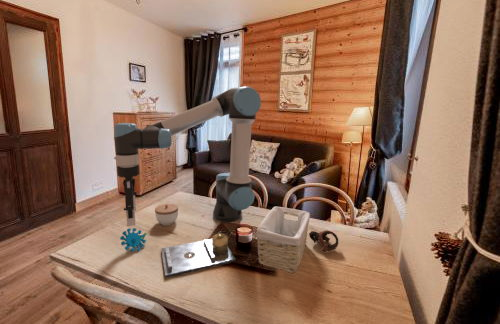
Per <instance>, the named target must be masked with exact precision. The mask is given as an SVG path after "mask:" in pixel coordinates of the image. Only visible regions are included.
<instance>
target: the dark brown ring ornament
mask: <svg viewBox="0 0 500 324" xmlns="http://www.w3.org/2000/svg"><path fill="white" fill-rule="evenodd" d="M328 235H332V237H334V238H335V243H333V244H330V243H329V241H330V240H331V238H330V237H328ZM308 236H309V238H310V239H311V240H312V242H313V243H314V244H316V243H318V242H319V243H320V245H321V246H322V248H321V252H322V253H327V252H332V251H335V250H337V248H338V246H339V237H338V236H337V234H336V233H334V231H331V230H327V229H326V230H323V231H319V232H317V231H315V230H311V231H309V233H308ZM326 242H327V245H326Z"/></svg>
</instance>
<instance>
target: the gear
mask: <svg viewBox="0 0 500 324" xmlns="http://www.w3.org/2000/svg"><path fill="white" fill-rule="evenodd" d="M137 230H138V229H137V228H135V227H133V228H132V229H131V228H129V227H128V228H127V229H126V230H124V231H123V232H122V236H120V238H119V240H121V243H120V244H121V246H125V245H126V246H125V247H124V249H125V251H127V250H128V249H129V248H131V247H132V248H131V249H130V250H129V251H130V252H131V253H134V252H135V251H136V252H140V251H141V249H143V248H144V247H145V244H146V243H147V240H146V239H144V238H145V237H146V236H147V232H144V233H142V231H141V229H139V230H138V231H137ZM131 231H132V232H131ZM136 231H137V232H136ZM135 248H136V249H135Z"/></svg>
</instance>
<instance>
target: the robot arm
mask: <svg viewBox="0 0 500 324" xmlns="http://www.w3.org/2000/svg"><path fill="white" fill-rule="evenodd" d="M261 99H262V98H261V96H260V94H259V92H258V91H257V90H256V89H255V88H253V87H251V86H245V85H244V86H238V87H232V88H230V89H227V90H225V91H224V92H222V93H220V94H217V95H215V96H213V97H212V99H211V100H208V101H207V102H205V103H204V102H203V103H202V104H200V105H198V106H195V107H192V108H190V109H188V110H185V111H183V112H180V113H178V114H175V115H173V116H171V117H168V118H165V119H163V120H161V121H159V122H156V123H154V124H149V125H146V126H145V127H144V128H138V126H137V124H136V123H132V122H130V123H129V122H121V123H119V122H118V123H115V125H114V126H113V139H114V149H115V156H114V160H116V165H117V166H116V173H117V176H118V177H119V178H124V179H123V182H122V185H123V192H124V198H125V201H124V202H125V207H124V208H123V211H125V215H126V224H127V225H126V227H132V226H133V227H134V226H136V214H135V211H137V204H136V195H137V191H136V190H135V189H136V188H135V187H136V178H134V177H138V176H139V175H140V173H141V172H140V165H139V164H140V158H139V157H140V155H139V150H146V149H147V150H150V149H151V150H153V149H161V150H163V149H168V148H171V147H172V136H175V135H177V134H180V133H183V132H184V131H186V130H189V129H191V128H193V127H196V126H198V125H200V124H203V123H205V122H208V121H209V120H212V119H215V118H216V117H220V118H222V117H224V116H228V119H229V120H230V122H231V136H230V138H231V140H230V142H231V143H230V158H229V159H230V161H229V162H230V163H229V172H222V173H219V174H217V175H216V178H215V191H216V194H215V195H216V196H215V197H216V199H215V200H216V202H215V205H214V208H213V211H212V217H213V219H214V220H216V221H219V222H223V223H232V222H236V221H238V220H240V219H241V218H242V217H243V211H244V210H246V209H248V208H249V207H250V206H251V205H252V204H253V203H254V202H255V197H256V196H255V192H254V190H253V189H252V178H251V177H250V176H249V171H250V158H251V157H250V156H251V143H252V142H251V141H252V140H251V139H252V126H253V125H252V124H253V123H254V122H255V121H256V118H257V116H256V115H257V114H258V112H259V111H260V109H261V106H262V100H261Z"/></svg>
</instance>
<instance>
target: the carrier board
mask: <svg viewBox="0 0 500 324" xmlns="http://www.w3.org/2000/svg"><path fill="white" fill-rule="evenodd" d="M211 237H212V238H209V239H208V238H205V239H203V240H198V241H194V242H188V243H183V244H178V245H172V246H165V247H161V249H160V251H161V255H162V256H161V257H162V258H161V259H162V264H163V271H164V279H168V278H169V279H170V278H172V277H177V276H183V275H186V274H190V273H194V272H198V271H202V270H206V269H211V268H215V267H219V266H220V267H221V266H224V265H227V264H232V263H231V262H232V261H236V258H235V256H234V254H233V252H232V251H231V249H230V247H229V246H228V245H229V244H228V238H229V237H228V235H227V234H225V233H222V232H218V233H216V234H214V235H212V236H211Z"/></svg>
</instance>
